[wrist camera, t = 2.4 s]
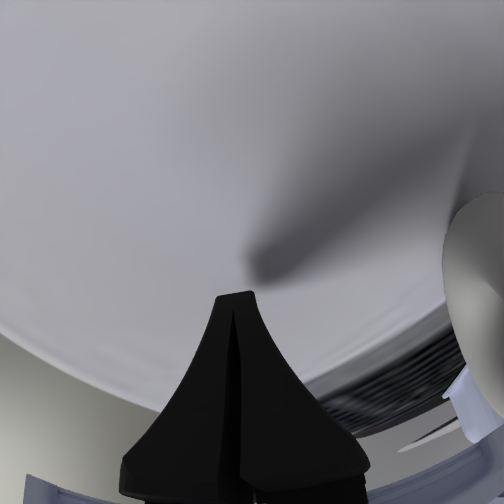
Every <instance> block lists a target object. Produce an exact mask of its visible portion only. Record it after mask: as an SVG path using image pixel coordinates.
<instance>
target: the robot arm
mask: <svg viewBox="0 0 504 504" xmlns="http://www.w3.org/2000/svg"><path fill="white" fill-rule="evenodd" d="M442 397H443V399H445V398H447V397H450V399H451V402H452V404H453V406H454V409H455V411H456V414H457V416H458V419H459V421H460V424H461V426H462V429H463V431H464V434H465V436H466V437H467V439H468V440H469V441H471V442H472V443H475V444H474V445H472V446H470V447H469V448H467V449H465V450H463V451H462V452H460V453H458V454H456V455H454V456H452V457H450V458H449V459H447V460H445V461H443V462H441V463H438V464H436V465H434V466H432V467H430V468H428V469H426V470H423V471H421V472H419V473H417V474H414V475H412V476H409V477H407V478H404V479H402V480H399V481H397V482H394V483H391V484H389V485H386V486H383V487H380V488H377V489H374V490H370V491H367V492H366V488H365V484H366V480H365V476H364V473H365V472H366V471H368V469H369V468H370V462H369V459H368V457H367V455H366V453H365V452H364V450H363V449H362V447H361V446H360V444H359V443H358V442H357V440H356V439H355V437H354V436H353V435H352V434H351V433H350V432H349V431H347V430H346V429H345V428H344V427H343V426H342V425H341V424H340V423H339V422H338V421H337V420H335V419H334V418H333V417H332V416H331V415H330V414H329V413H328V412H327V410H326V409H325V408H324V407H323V406H322V405H321V404H320V403H319V402H318V401H317V400H316V399H315V397H314V396H313V395H312V394H311V393H310V392H309V391H308V389H307V388H306V387H305V386H304V385H303V383H302V382H301V381H300V379H299V378H298V377H297V376H296V374H295V373H294V372H293V370H292V369H291V367H290V366H289V365H288V363H287V362H286V360H285V359H284V357H283V356H282V354H281V353H280V351H279V349H278V348H277V346H276V344H275V343H274V341H273V339H272V337H271V335H270V334H269V332H268V330H267V328H266V326H265V324H264V322H263V320H262V317H261V315H260V312H259V310H258V307H257V303H256V298H255V294H254V292H253V291H251V290H250V291H244V292H238V293H232V294H226V295H220V296H217V298H216V299H215V303H214V306H213V310H212V313H211V316H210V319H209V322H208V324H207V327H206V330H205V332H204V335H203V337H202V340H201V342H200V345H199V347H198V349H197V351H196V353H195V356H194V358H193V360H192V362H191V364H190V366H189V368H188V370H187V372H186V374H185V376H184V378H183V379H182V381H181V383H180V385H179V386H178V388H177V390H176V391H175V393H174V394H173V396H172V397H171V399H170V401H169V402H168V404H167V405H166V407H165V408H164V409H163V411H162V412H161V414H160V415H159V416H158V418H157V419H156V420H155V421H154V423H153V424H152V425H151V426H150V428H149V429H148V430H147V432H146V433H145V434H144V435H143V436H142V437H141V438H140V439H139V440H138V442H137V443H136V444H135V445H134V446H133V447H132V448H131V449H130V450H129V451H128V452H127V453H126V454H125V455H124V456H123V460H122V464H121V469H120V479H119V493H120V494H122V495H124V496H127V497H131V498H135V499H139V500H143V501H145V504H254V503H255V502H256V503H257V504H504V419H503V418H502V417H501V416H500V415H499V414H498V413H497V412H496V411H495V410H494V409H493V408H492V407H491V406H490V405H489V403H488V402H487V400H486V399H485V397H484V396H483V395H482V393H481V392H480V390H479V388H478V386H477V384H476V382H475V380H474V378H473V377H472V375H471V373H470V370H469V368H468V366H467V364H466V365H465V367H464V368H463V369H462V371H461V372H460V373H459V375H458V376H457V378H456V379H455V380H454V381H453V383H452V384H451V385H450V387H449V388H448V389H447V390H446V392H445V393H444V394H443V395H442ZM23 504H119V503H114V502H109V501H105V500H101V499H97V498H93V497H89V496H85V495H83V494H79V493H76V492H73V491H70V490H66V489H64V488H61V487H58V486H57V485H54V484H52V483H49V482H46V481H44V480H42V479H39V478H37V477H34V476H32V475H30V474H27V475H26V482H25V489H24V499H23Z"/></svg>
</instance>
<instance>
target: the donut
mask: <svg viewBox="0 0 504 504" xmlns="http://www.w3.org/2000/svg"><path fill="white" fill-rule="evenodd" d="M442 272H443V283H444V292H445V297H446V301H447V306H448V311H449V315H450V318H451V321H452V325H453V328H454V332H455V335H456V338H457V340H458V343H459V346H460V349H461V352H462V354H463V357H464V359H465V361H466V363H467V366H468V368H469V370H470V373H471V375H472V377H473V378H474V380H475V382H476V384H477V386H478V388H479V390H480V392H481V393H482V395H483V396H484V397H485V399H486V400H487V402H488V403H489V405H490V406H491V407H492V408H493V409H494V410H495V411H496V412H497V413H498V414H499V415H500V416H501V417H502V418H503V419H504V193H501V192H489V193H485V194H482V195H480V196H479V197H477V198H475V199H474V200H472V201H470V202H469V203H467V204H466V205H464V206H463V207H462V208H461V209H460V210H458V212H457V213H456V215H455V217H454V219H453V220H452V223H451V225H450V227H449V229H448V231H447V233H446V235H445V240H444V244H443V254H442Z"/></svg>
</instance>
